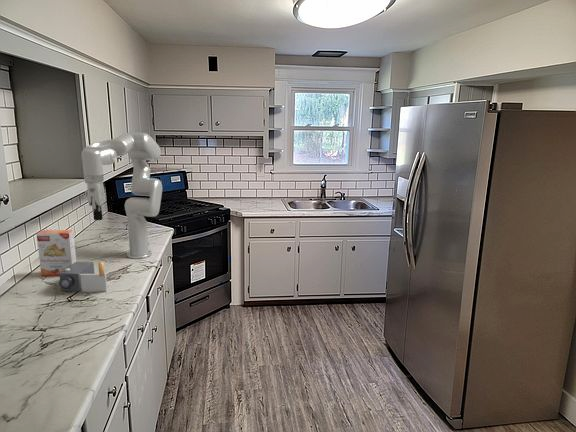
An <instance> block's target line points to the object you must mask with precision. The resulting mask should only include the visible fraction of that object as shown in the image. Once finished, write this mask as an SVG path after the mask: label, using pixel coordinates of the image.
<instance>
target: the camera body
mask: <svg viewBox="0 0 576 432" xmlns="http://www.w3.org/2000/svg"><path fill="white" fill-rule="evenodd" d="M94 263H95V262H94V261H76V262H75V263H73V264H72V265H70V266H69V267H68V268H66V269H65V270H63V271H62V272H60V273H59V275H58V277H59V286H60V291H61V292H80V288H79V278H78V274H79V273H81V274H95V266H94Z"/></svg>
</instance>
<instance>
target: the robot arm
mask: <svg viewBox="0 0 576 432" xmlns="http://www.w3.org/2000/svg"><path fill="white" fill-rule="evenodd" d="M126 154H128V157H129V159H130V162H131V163H132V166H133V172H132V177H131V178H132V179H131V186H130V192H131V193H132V194H133V195H134V196H136V197H129V198H127V199H126V200H125V203H124V210H125V214H126V218H127V226H128V227H127V229H128V243H129V244H128V245H129V251H128V252H127V253H126V257H127V258H129V259H134V260H135V259H139V260H140V259H145V258H148V257H151V256H152V254H153V252H152V251H151V249H149V245H150V244H149V236H148V232H149V231H148V222H147V220H146V218H145V217H156V216H158V215H159V213H160V208H161V204H162V203H161V201H162V195H163V184H162V181H161V180H160V179H158V178H152V177H151V168H150V166H149V164H148V163H147V161H157V160H159V159H160V157H161V155H162V150H161V147H160V146H159V144H158V143H157V142H156V140H154V139H153V138H152V137H151V136H150V135H149V134H148V133H145V132H126V133H123V134H120V135H118V137H115V138H111V139H107V140H103V141H96V142H93V143H90V144H89V145H86V146H85V147H83V149H82V151H81V161H82V168H83V169H82V170H83V180H84V183H85V184H87V185H86V186H87V187H86V188H87V201H88V205H89V206H90V207H92V208H91V209H92V212H93V220H94V221H102V220H103V219H104V218H103V209H102V208H103V207H102V206H103V205H104V204H105V202H106V193H105V187H104V182H105V178H104V167H103V166H108V165H110V166H111V165H113V164H114V163H115V162H116V161H117V158H118V157H123V156H125V155H126ZM150 177H151V178H150ZM137 196H142V197H137ZM143 196H145V197H143ZM147 197H148V198H147Z"/></svg>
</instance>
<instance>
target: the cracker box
mask: <svg viewBox="0 0 576 432" xmlns="http://www.w3.org/2000/svg"><path fill="white" fill-rule="evenodd" d="M36 240H37V249H38V251H37V252H38V259H39V265H40V266H39V267H40V274H41V276H42V277H43V276H44V277H47V276H48V277H49V276H53V277H54V276H55V277H56V276H57V277H58V276H59V273H60V272H62V271H63V270H65V269H66V268H68V267H69V266H70V265H72V264H73V263H75V262H77V253H76V244H75V243H76V242H75V233H74V229H66V230H65V229H41V230H40V231H38V232H37V233H36Z"/></svg>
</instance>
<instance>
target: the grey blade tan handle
mask: <svg viewBox="0 0 576 432" xmlns="http://www.w3.org/2000/svg"><path fill="white" fill-rule="evenodd" d="M97 263H98V264H97V265H98V273H94V274H81V273H79V274H78V278H79V288H80V291H79V292H80V293H81V292H87V293H88V292H107V291H108V284H107V274H106V273H105V266H104V262H103V261H98V262H97Z"/></svg>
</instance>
